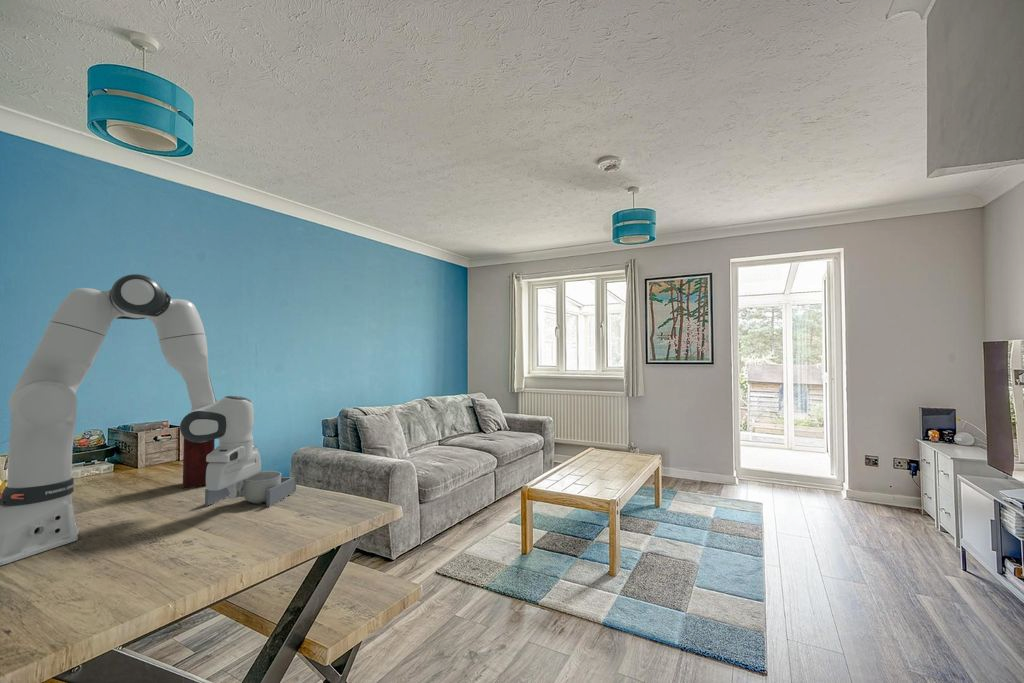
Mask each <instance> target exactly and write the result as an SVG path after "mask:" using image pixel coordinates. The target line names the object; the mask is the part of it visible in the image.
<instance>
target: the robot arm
mask: <svg viewBox="0 0 1024 683" xmlns="http://www.w3.org/2000/svg"><path fill="white" fill-rule="evenodd" d="M116 319H119V320H123V319H124V320H135V321H136V320H144V319H147V320H150V321H151V322H152V323H153V324H154V326H155V329H156V332H157V336H158V341H159V346H160V349H161V352H162V354H163V357H164V359H165V360H166V363H167V364H168V366H170V367H171V368H173V369H174V370H175V371H177V372H178V374H179V375H180V376H181V377H182V379H183V381H184V383H185V386H186V389H187V394H188V397H189V401H190V404H191V411H190V412H189V413H187V414H186V415H185V416H184V417H183V418H182V420H181V421H180V425H179V429H180V430H179V431H180V434H181V436H182V437H183V439H184V438H185V439H187V440H189V441H191V442H199V443H200V442H206V441H209V440H213V439H215V440H217V439H218V445H217V446H216V448H214V450H213V451H212V452H211V453H209V454H208V455H207V456H206V461H207V462H210V463H209V464H208V466H207V469H206V486H205V487H206V489H208V490H221V489H223V488H226V487H227V489H228V491H229V493H230V497H229V499H231V500H234V499H236V498H238V497H240V496H241V495H240V492H241V489H242V486H243V484H244V480H246V479H248V478H251V477H253V476H255V475H258V474H259V473H260V471H262V460H261V458H262V457H261V454H260V452H259V448H258V447H257V446H256V445H254V435H253V429H254V425H255V411H254V405H253V402H252V401H251V400H250V399H248V398H247V397H244V396H237V395H226V396H224V397H223V398H221V399H219V400H217V399H216V396H215V393H214V389H213V384H212V380H211V377H210V371H209V357H208V356H209V351H208V349H209V348H208V340H207V335H206V331H205V328H204V324H203V321H202V319H201V316H200V313H199V311H198V309H197V307H196V306H195V304H194V303H193V302H191V301H190V300H187V299H182V298H172V297H171V295H170V294H169V293H168V292H167V291H166V290H165V289H164V288H163V287H162V286H161V285H160V284H159V283H158V282H157V281H156V280H154V279H153V278H151V277H149V276H147V275H144V274H136V273H135V274H134V273H133V274H127V275H124V276H122V277H119V278H118V279H117V280H116V281H115V282H114V283H113V285H112V287H111V289H108V290H98V289H96V288H90V287H79V288H75V289H73V290H71V291H70V292H69V293H68V294H67V295H66V296H65V298H64V299H62V301H61V303H60V304H59V305H58V307H57V309H56V310H55V312H54V313H53V315H52V317H51V319H50V320H49V323H48V324H47V327H46V329H45V331H44V333H43V335H42V337H41V338H40V341H39V342H38V345H36V346H37V347H36V349H35V350H34V352H33V354H32V355H31V357H30V359H29V361H28V363H27V364H26V366H25V369H24V370H23V371H22V374H21V376H20V377H19V380H18V381H17V383H16V384H15V386H14V389H13V391H12V393H11V394H10V397H9V399H8V407H9V411H10V428H9V429H10V432H9V445H8V452H7V479H6V480H7V482H6V486H5V487H4V488H3V490H2V492H0V566H4V565H6V564H10V563H12V562H16V561H19V560H22V559H25V558H28V557H31V556H34V555H36V554H40V553H43V552H46V551H50V550H52V549H54V548H57V547H61V546H64V545H67V544H69V543H72V542H75V541H78V539H79V537H78V536H79V533H80V531H79V529H78V527H77V524H76V518H75V513H74V512H75V511H74V506H73V498H72V497H73V496H72V495H73V492H75V491H74V490H75V483H74V482H75V480H74V477H73V476H72V475H73V473H72V472H73V448H74V439H75V433H76V432H75V431H76V423H77V414H78V412H77V410H78V396H77V395H76V393H77V391H78V389H79V388H80V386H81V384H82V382H83V381H84V379H85V377H86V375H87V374H88V372H89V370H90V369H91V367H92V366H93V364H94V362H95V359H96V357H97V355H98V353H99V351H100V349H101V347H102V345H103V342H104V340H105V338H106V336H107V334H108V332H109V329H110V327H111V325H112V324H113V322H114V321H115V320H116Z"/></svg>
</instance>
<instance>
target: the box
mask: <svg viewBox="0 0 1024 683" xmlns="http://www.w3.org/2000/svg"><path fill="white" fill-rule="evenodd" d="M241 490H242V491H243V486H242V489H241ZM296 490H297V477H296V476H281V483H280V484H278V485H276V486H274V487H272V488H270V489H268V490H267V502H266V504H265V505H266V506H271V505H273V504H274V505H276V504H277V502H278V501H280V500H282V499H283V498H285V497H287V496H288V495H290V494H292V493H294V492H295V491H296ZM296 492H297V491H296ZM294 494H295V493H294ZM229 495H230V493H229V491H228V489H227V487H226V488H223V489H221V490H208V489H207V488H206V489H205V490H204V507H209V506H208V505H210V504H212V505H214V504H213V503H215V502H217V501H219V500H221V499H223V500H225V499H224V498H225V497H227V496H229ZM292 495H293V494H292ZM290 496H291V495H290ZM287 498H288V497H287ZM285 499H286V498H285ZM283 500H284V499H283ZM283 500H282V501H283ZM221 501H222V500H221ZM219 502H220V501H219ZM280 502H281V501H280ZM217 503H218V502H217ZM275 503H276V504H275ZM278 503H279V502H278ZM215 504H216V503H215ZM274 505H273V506H274ZM210 506H211V505H210ZM271 507H272V506H271Z"/></svg>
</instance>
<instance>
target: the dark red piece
mask: <svg viewBox="0 0 1024 683" xmlns="http://www.w3.org/2000/svg"><path fill="white" fill-rule="evenodd" d="M215 440H216V439H213V440H209V441H206V442H200V443H199V442H191V441H189V440H187V439H185V438H184V437H183V451H182V452H183V456H182V457H183V458H182V461H183V462H182V464H183V465H182V489H183V488H187V489H191V488H190V487H194V488H197V487H196V486H201V487H203V486H202V485H206V469H207V466H208V464H209V463H210V462H207V461H206V456H207V455H208V454H209V453H211V452H212V451H213V450H214V449H215V445H216V443H215Z"/></svg>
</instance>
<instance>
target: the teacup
mask: <svg viewBox="0 0 1024 683" xmlns="http://www.w3.org/2000/svg"><path fill="white" fill-rule="evenodd" d="M281 477H282V473H281V472H279V471H277V470H263V471H262V470H261V471H260V473H259V474H258V475H255V476H253V477H251V478H248V479H246V480H244V484H243V491H242V490H241V492H240V496H241V497H243V498H244V500H245V501H248V502H249V503H251V502H252V503H251V504H261V503H260V502H265V503H267V490H268V489H270V488H272V487H274V486H276V485H278V484H280V483H281Z"/></svg>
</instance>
